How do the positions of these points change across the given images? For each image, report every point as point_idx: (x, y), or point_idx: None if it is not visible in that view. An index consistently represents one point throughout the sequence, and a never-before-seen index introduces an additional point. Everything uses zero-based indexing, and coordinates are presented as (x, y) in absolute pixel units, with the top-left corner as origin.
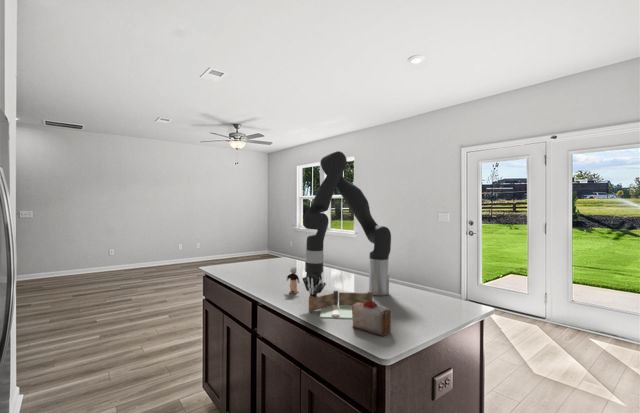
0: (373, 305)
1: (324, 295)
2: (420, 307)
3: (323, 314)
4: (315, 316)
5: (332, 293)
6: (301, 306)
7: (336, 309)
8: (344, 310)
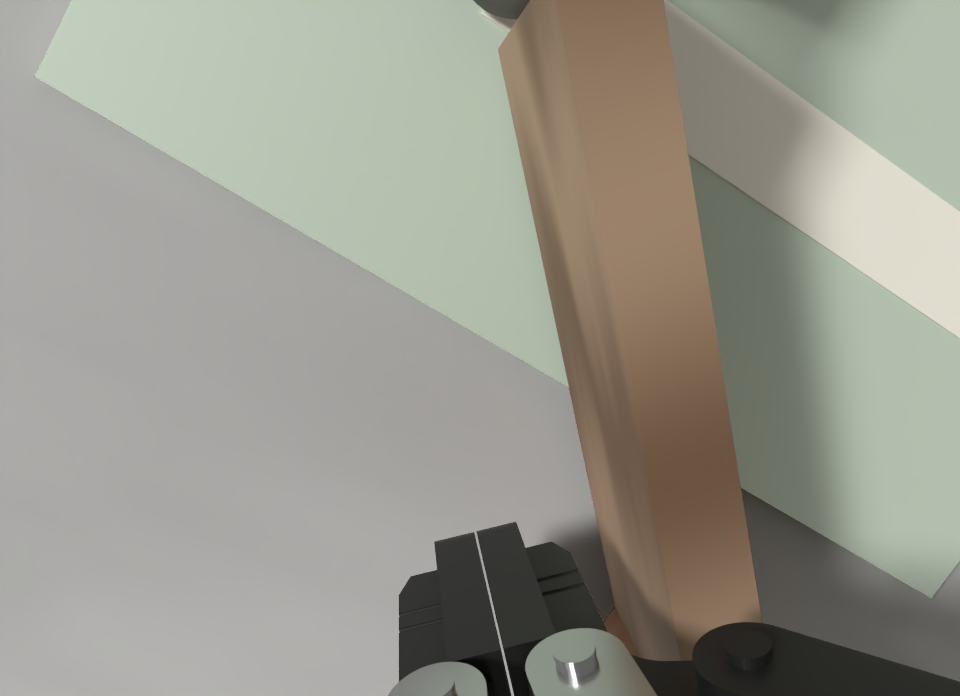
0: None
1: (720, 418)
2: None
3: (878, 500)
4: (826, 622)
5: (654, 41)
6: (235, 645)
7: (791, 134)
8: (925, 4)
